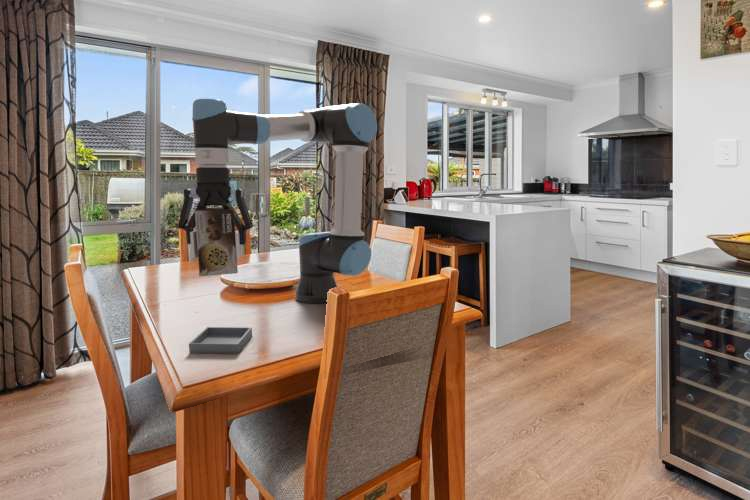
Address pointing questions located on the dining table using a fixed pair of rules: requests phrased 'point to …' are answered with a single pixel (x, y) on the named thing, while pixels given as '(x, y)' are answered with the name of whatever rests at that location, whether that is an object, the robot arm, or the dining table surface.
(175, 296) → the dining table surface
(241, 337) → the tray
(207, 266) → the coffee box
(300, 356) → the dining table surface
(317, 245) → the robot arm
